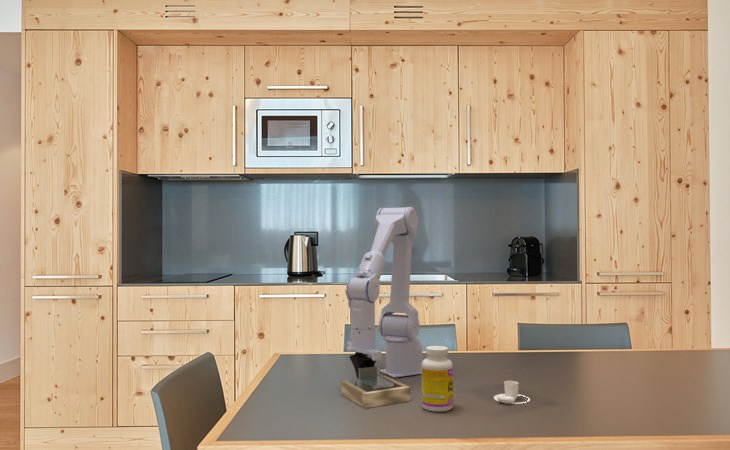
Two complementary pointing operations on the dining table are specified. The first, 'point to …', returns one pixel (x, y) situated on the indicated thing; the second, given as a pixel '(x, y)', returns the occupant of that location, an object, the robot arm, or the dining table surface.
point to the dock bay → (377, 394)
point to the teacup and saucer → (510, 393)
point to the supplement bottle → (437, 380)
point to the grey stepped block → (372, 380)
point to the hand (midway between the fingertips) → (363, 385)
